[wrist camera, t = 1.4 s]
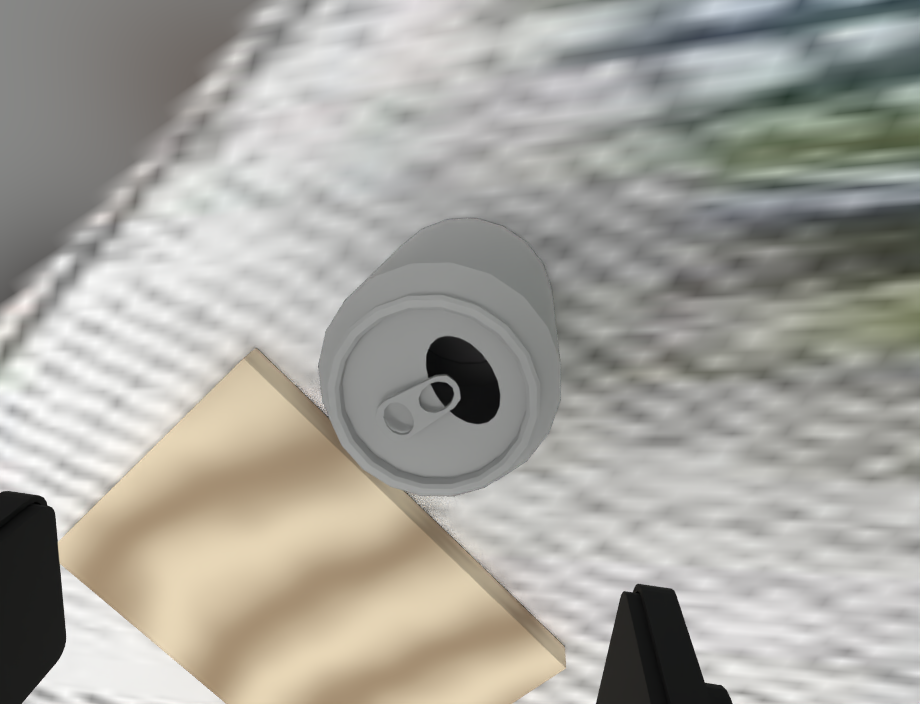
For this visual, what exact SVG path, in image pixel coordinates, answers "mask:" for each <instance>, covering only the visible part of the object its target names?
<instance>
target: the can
mask: <svg viewBox="0 0 920 704" xmlns="http://www.w3.org/2000/svg"><path fill="white" fill-rule="evenodd" d="M318 369H319V377H320V386H321V394H322V402H323V404H324V406H325V408H326V410H327V412H328V417H329V419H330V421H331V423H332V426H333V428H334V430H335V432H336V434H337V436H338V439H339V441H340V443H341V445H342V447H343V448H344V449H345V450H346V451H347V452H348V453H349V454H350V455H351V457H352V458H353V459H354V460H355V461H356V462H357V463H358V464H359V466H360V467H361V468H362V469H363V470H365V471H366V472H368V473H369V474H371V475H373V476H374V477H376V478H377V479H379V480H381V481H382V482H384V483H385V484H387V485H388V486H390V487H393V488H396V489H400V490H403V491H407V492H410V493H413V494H417V495H420V496H457V495H460V494H464V493H467V492H471V491H474V490H478V489H481V488H485V487H486V486H488V485H489V484H491V483H493V482H494V481H497V480H499V479H500V478H502V477H503V476H505V475H506V474H508V473H509V472H511V471H513V470H514V469H516V468H517V467H519V466H520V465H522V464H523V463H525V462H526V461H527V460H528V459H529V458H530V457H531V455H532V454H533V453H534V452H535V450H536V449H537V448H538V446H539V445H540V444H541V443H542V441H543V440H544V439H545V438H546V436H547V435H548V434H549V432H550V429H551V426H552V423H553V420H554V417H555V414H556V412H557V409H558V406H559V403H560V400H561V363H560V354H559V345H558V337H557V328H556V319H555V311H554V302H553V294H552V288H551V285H550V282H549V279H548V276H547V274H546V271H545V268H544V265H543V263H542V262H541V260H540V259H539V258H538V257H537V255H536V254H535V253H534V251H533V250H532V249H531V247H530V246H529V245H528V243H527V242H526V241H524V240H523V239H521V238H520V237H518V236H517V235H515V234H514V233H512V232H511V231H510V230H508V229H507V228H505V227H504V226H501V225H498V224H494V223H491V222H487V221H484V220H480V219H477V218H468V219H447V220H445V221H442V222H439V223H436V224H434V225H431V226H428V227H426V228H423V229H421V230H420V231H419V232H418V233H416V234H415V235H414V236H413V237H411V238H410V239H409V240H408V241H406V242H405V243H404V244H403V245H402V246H400V247H399V248H398V249H397V250H396V251H395V252H394V253H393V254H392V255H391V256H390V257H389V258H388V259H387V260H386V261H385V262H384V263H383V264H382V265H381V266H380V267H379V268H378V269H377V270H376V271H375V272H374V273H373V274H372V275H371V276H369V277H368V278H367V279H366V280H365V281H364V282H363V283H362V284H361V285H360V286H359V287H358V288H357V289H356V290H355V291H354V292H353V293H352V294H351V295H350V296H349V297H348V298H347V299H346V300H345V301H344V303H343V304H342V306H341V307H340V309H339V311H338V312H337V314H336V315H335V317H334V319H333V320H332V322H331V324H330V325H329V327H328V328H327V330H326V332H325V337H324V342H323V346H322V351H321V355H320V360H319V365H318Z"/></svg>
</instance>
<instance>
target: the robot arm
mask: <svg viewBox="0 0 920 704" xmlns="http://www.w3.org/2000/svg"><path fill="white" fill-rule="evenodd" d="M65 643H66V629H65V618H64V607H63V595H62V584H61V573H60V562H59V551H58V540H57V529H56V518H55V512H54V510H53V508H52V507H50V506H47V502H46V500H45V499H44V498H43V497H41V496H38V495H32V494H25V493H18V492H11V491H4V492H1V493H0V704H22V703H23V701H24V700H25V699H26V698H27V697H28V695H29V694H30V693H31V692H32V691H33V690H34V688H35V687H36V686H37V685H38V684H39V683H40V681H41V680H42V679H43V678H44V677H45V675H46V674H47V673H48V672H49V671H50V670H51V668H52V667H53V666H54V665H55V664H56V663H57V661H58V660H59V658H60V656H61V655H62V653H63V650H64V647H65ZM596 704H732V701H731V698H730V696H729V694H728V692H727V690H726V689H725V688H724V687H723V686H722V685H716V684H709V683H705V682H704V679H703V676H702V673H701V670H700V667H699V663H698V660H697V657H696V654H695V651H694V648H693V645H692V642H691V639H690V636H689V633H688V630H687V627H686V624H685V621H684V618H683V614H682V611H681V608H680V605H679V602H678V599H677V596H676V594H675V591H674V590H673V589H670V588H663V587H656V586H649V585H642V584H637V585H636V586H635V588H634V591H633V593H632V592H625V591H624V592H623V593H622V595H621V598H620V602H619V606H618V611H617V615H616V619H615V624H614V628H613V632H612V637H611V641H610V645H609V650H608V654H607V658H606V663H605V667H604V671H603V676H602V680H601V684H600V689H599V693H598V697H597V702H596Z"/></svg>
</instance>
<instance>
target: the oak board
mask: <svg viewBox="0 0 920 704" xmlns="http://www.w3.org/2000/svg"><path fill="white" fill-rule="evenodd" d="M58 551H59V562H60V564H61V565H62V566H63V567H65V568H66V569H67V570H68V571H69V572H71V573H72V574H73V575H74V576H75V577H76V578H78V579H79V580H80V581H81V582H82V583H84V584H85V585H86V586H87V587H88V588H90V589H91V590H92V591H93V592H94V593H95V594H97V595H98V596H99V597H100V598H101V599H103V600H104V601H105V602H106V603H107V604H109V605H110V606H111V607H112V608H113V609H114V610H116V611H117V612H118V613H119V614H120V615H122V616H123V617H124V618H125V619H126V620H127V621H129V622H130V623H131V624H132V625H133V626H135V627H136V628H137V629H138V630H139V631H141V632H142V633H143V634H144V635H145V636H146V637H148V638H149V639H150V640H151V641H152V642H154V643H155V644H156V645H157V646H158V647H160V648H161V649H162V650H163V651H164V652H165V653H167V654H168V655H169V656H170V657H171V658H173V659H174V660H175V661H176V662H177V663H178V664H180V665H181V666H182V667H183V668H184V669H186V670H187V671H188V672H189V673H190V674H192V675H193V676H194V677H195V678H196V679H197V680H199V681H200V682H201V683H202V684H203V685H205V686H206V687H207V688H208V689H209V690H211V691H212V692H213V693H214V694H215V695H216V696H218V697H219V698H220V699H221V700H222V701H224V702H225V703H226V704H512V703H513V702H515V701H516V700H518V699H520V698H521V697H523V696H524V695H526V694H527V693H529V692H530V691H532V690H533V689H535V688H536V687H538V686H539V685H541V684H543V683H544V682H546V681H547V680H549V679H550V678H552V677H553V676H555V675H556V674H558V673H559V672H561V671H563V670H564V669H566V659H565V647H564V646H563V645H562V644H561V643H560V642H559V641H558V640H557V639H556V638H555V637H554V636H553V635H552V634H551V633H550V632H549V631H548V630H547V629H546V628H545V627H544V626H543V625H542V624H541V623H540V622H539V621H538V620H537V619H536V618H535V617H533V616H532V615H531V614H530V613H529V612H528V611H527V610H526V609H525V608H524V607H523V606H522V605H521V604H520V603H519V602H518V601H517V600H516V599H515V598H514V597H513V596H512V595H511V594H510V593H509V592H508V591H507V590H506V589H505V588H504V587H502V586H501V585H500V584H499V583H498V582H497V581H496V580H495V579H494V578H493V577H492V576H491V575H490V574H489V573H488V572H487V571H486V570H485V569H484V568H483V567H482V566H481V565H480V564H479V563H478V562H477V561H476V560H475V559H474V558H473V557H472V556H470V555H469V554H468V553H467V552H466V551H465V550H464V549H463V548H462V547H461V546H460V545H459V544H458V543H457V542H456V541H455V540H454V539H453V538H452V537H451V536H450V535H449V534H448V533H447V532H446V531H445V530H444V529H443V528H442V527H441V526H439V525H438V524H437V523H436V522H435V521H434V520H433V519H432V518H431V517H430V516H429V515H428V514H427V513H426V512H425V511H424V510H423V509H422V508H421V507H420V506H419V505H418V504H417V503H416V502H415V501H414V500H413V499H412V498H411V497H410V496H409V495H407V494H406V493H405V492H404V491H403V490H400V489H396V488H393V487H390V486H388V485H387V484H385V483H384V482H382V481H381V480H379V479H377V478H376V477H374V476H373V475H371V474H369V473H368V472H366V471H365V470H363V469H362V468H361V467H360V466H359V464H358V463H357V462H356V461H355V460H354V459H353V458H352V457H351V455H350V454H349V453H348V452H347V451H346V450H345V449H344V448H343V447H342V445H341V443H340V441H339V439H338V436H337V434H336V432H335V430H334V428H333V426H332V423H331V421H330V419H329V418H328V417H327V416H326V415H325V414H324V413H323V412H322V411H321V410H320V409H319V408H318V407H317V406H316V405H315V404H314V403H312V402H311V401H310V400H309V399H308V398H307V397H306V396H305V395H304V394H303V393H302V392H301V391H300V390H299V389H298V388H297V387H296V386H295V385H294V384H293V383H292V382H291V381H290V380H289V379H288V378H287V377H286V376H285V375H284V374H283V373H282V372H280V371H279V370H278V369H277V368H276V367H275V366H274V365H273V364H272V363H271V362H270V361H269V360H268V359H267V358H266V357H265V356H264V355H263V354H262V353H261V352H260V351H259V350H258V349H257V348H255V349H254V350H253V351H252V352H250V353H249V354H248V355H247V356H246V357H244V358H243V359H242V360H241V361H240V362H239V363H238V364H237V365H236V366H235V367H234V368H233V369H232V370H231V371H230V372H229V373H228V374H227V375H226V376H225V377H224V378H223V379H222V380H221V381H220V382H219V383H218V384H217V385H216V386H215V387H214V388H213V389H212V390H211V391H210V392H209V393H208V394H207V395H206V396H205V397H204V398H203V399H202V400H201V401H200V402H199V403H198V404H197V405H196V406H195V407H194V408H193V409H192V410H191V411H190V412H189V413H188V414H187V415H186V416H185V417H184V418H183V419H182V420H181V421H180V422H179V423H178V424H177V425H176V426H175V427H174V428H173V429H172V430H171V431H170V432H169V433H168V434H167V435H166V436H165V437H164V438H162V439H161V440H160V441H159V442H158V443H157V444H156V445H155V446H154V447H153V448H152V449H151V450H150V451H149V452H148V453H147V454H146V455H145V456H144V457H143V458H142V459H141V460H140V461H139V462H138V463H137V464H136V465H135V466H134V467H133V468H132V469H131V470H130V471H129V472H128V473H127V474H126V475H125V476H124V477H123V478H122V479H121V480H120V481H119V482H118V483H117V484H116V485H115V486H114V487H113V488H112V489H111V490H110V491H109V492H108V493H107V494H106V495H105V496H104V497H103V498H102V499H101V500H100V501H99V502H98V503H97V504H96V505H95V506H94V507H93V508H92V509H91V510H90V511H89V512H88V513H87V514H86V515H85V516H84V517H83V518H82V519H81V520H80V521H79V522H78V523H77V524H76V525H75V526H74V527H73V528H72V529H71V530H70V531H69V532H68V533H67V534H66V535H65V536H64V537H63V538H62V539H61V540H59V541H58Z"/></svg>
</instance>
